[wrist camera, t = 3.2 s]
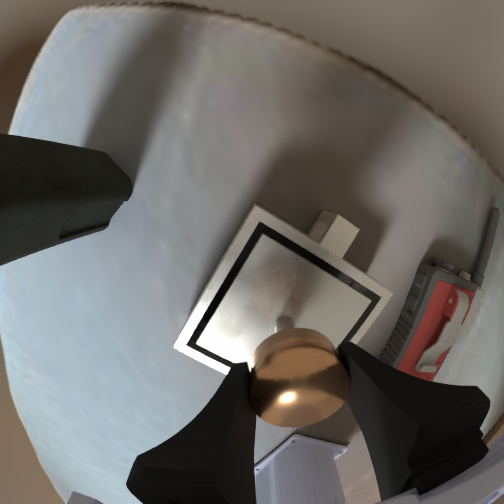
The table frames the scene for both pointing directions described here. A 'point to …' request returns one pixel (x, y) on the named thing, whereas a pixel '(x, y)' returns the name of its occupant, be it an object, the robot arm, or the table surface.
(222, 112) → the table surface
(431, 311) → the walkie-talkie
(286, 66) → the table surface
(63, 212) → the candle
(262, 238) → the square lid with knob
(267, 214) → the square tray with tab
